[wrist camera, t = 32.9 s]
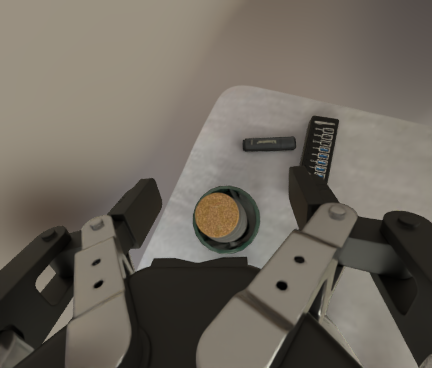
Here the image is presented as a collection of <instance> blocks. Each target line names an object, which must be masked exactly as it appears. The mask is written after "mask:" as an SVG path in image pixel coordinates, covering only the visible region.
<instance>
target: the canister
mask: <svg viewBox="0 0 432 368" xmlns="http://www.w3.org/2000/svg"><path fill="white" fill-rule="evenodd" d="M212 193H223V194H226V195H228V196H229V197H232V198H234V199H235V200H237V201H238V202H239V203H240V204H241V205H242V207H243V208H244V210H245V213H246V216H247V219H248V229H247V232H246V234H245V235H244V236H243V237H242V238H241V239H239V240H237V241H232V242H218V241H215V240H213V239H211V238H209V237H208V236H207V235H206V234H204V233H203V232H202V231H201V230H200V229H199V227H198V226H197V224H196V220H195V211H196V208H197V205H198V203H199V202H200V201H201V200H202V199H203V198H204V197H205V196H207V195H209V194H212ZM198 203H197V204H196V206H195V210H194V213H193V227H194V230H195V234H196V236H197V237H198V239H199V240H200V242H201V243H202V244H203V245H204V246H206V247H207V248H208V249H209V250H211V251H214V252H217V253H220V254H233V253H236V252H238V251H241V250H243V249H244V248H246V247H247V246H248V245H249V244H251V243H252V241H253V240H254V238H255V237H256V235H257V233H258V229H259V225H260V215H259V210H258V207H257V205H256V202H255V201H254V200H253V199H252V197H251V196H250V195H249V194H248V193H247V192H245V191H243V190H242V189H240V188H237V187H233V186H219V187H216V188H213V189H211V190H209V191H208V192H207V193H205V194H204V195H203V196H202V197H201V198H200V200H199V201H198Z"/></svg>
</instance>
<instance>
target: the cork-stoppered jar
mask: <svg viewBox="0 0 432 368" xmlns="http://www.w3.org/2000/svg"><path fill="white" fill-rule="evenodd" d="M195 220H196V224H197V226H198V227H199V229H200V230H201V231H202V232H203V233H204V234H206V235H207V236H208V237H209V238H211V239H213V240H215V241H218V242H232V241H237V240H239V239H241V238H242V237H243V236H244V235H245V234H246V232H247V229H248V219H247V216H246V213H245V210H244V208H243V207H242V205H241V204H240V203H239V202H238V201H237V200H235V199H234V198H232V197H229V196H228V195H226V194H223V193H212V194H209V195H207V196H205V197H204V198H203V199H202V200H201V201H200V202H199V203H198V205H197V208H196V211H195Z"/></svg>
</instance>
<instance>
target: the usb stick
mask: <svg viewBox="0 0 432 368" xmlns="http://www.w3.org/2000/svg"><path fill="white" fill-rule="evenodd" d="M295 140H296V139H295V137H273V138H249V139H245V140H243V150H244V151H282V150H294V149H295V148H296V141H295Z"/></svg>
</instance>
